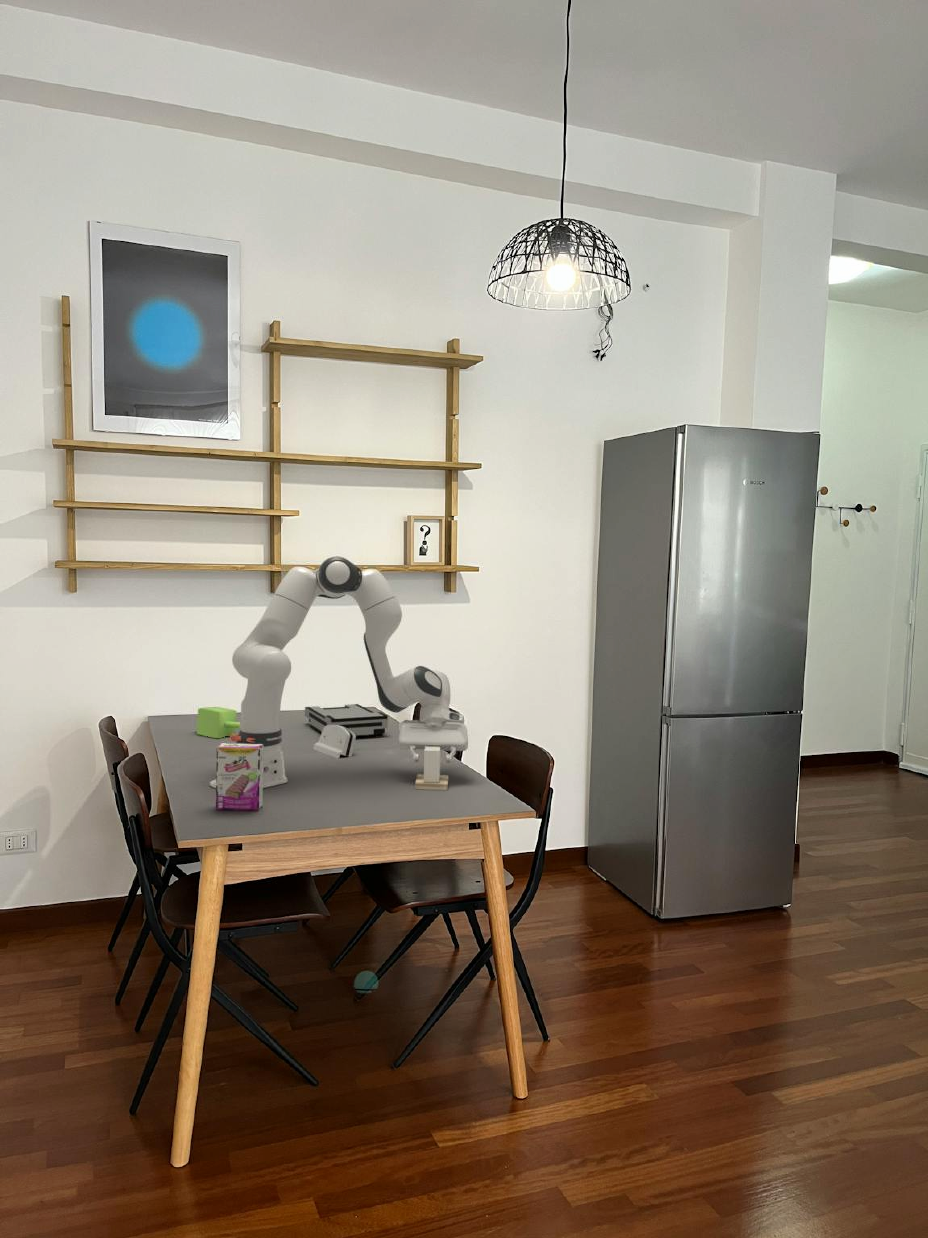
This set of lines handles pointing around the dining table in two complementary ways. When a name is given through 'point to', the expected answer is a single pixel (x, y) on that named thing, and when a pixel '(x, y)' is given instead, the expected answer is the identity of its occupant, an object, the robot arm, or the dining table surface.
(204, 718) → the gearbox
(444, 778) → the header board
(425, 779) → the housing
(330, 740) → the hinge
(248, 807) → the candy bar box
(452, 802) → the dining table surface
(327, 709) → the office tray
